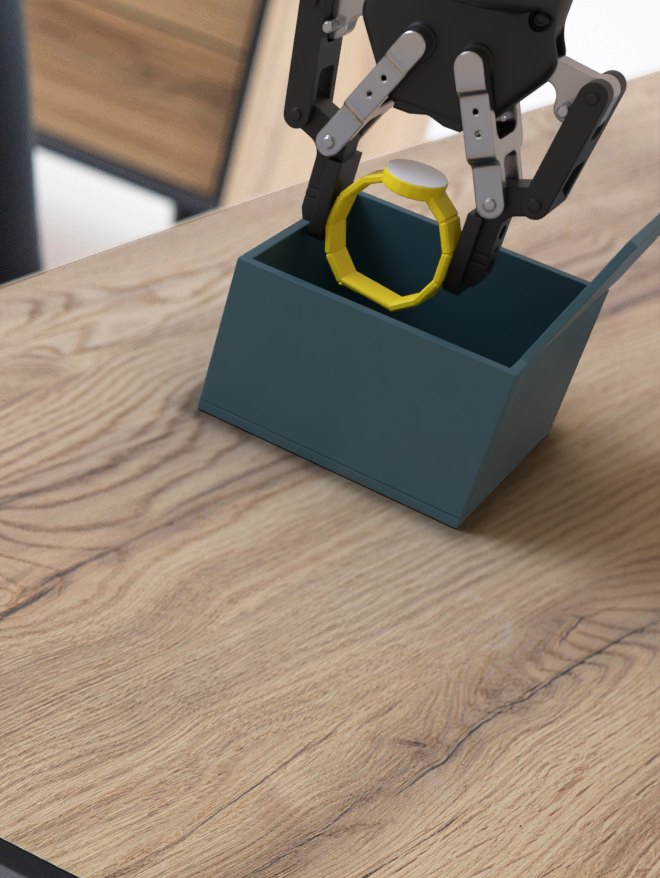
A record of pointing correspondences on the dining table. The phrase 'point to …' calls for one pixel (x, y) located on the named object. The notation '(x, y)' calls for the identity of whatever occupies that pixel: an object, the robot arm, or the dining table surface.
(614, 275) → the flap
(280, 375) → the carton
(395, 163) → the watch
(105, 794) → the dining table surface
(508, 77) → the robot arm
